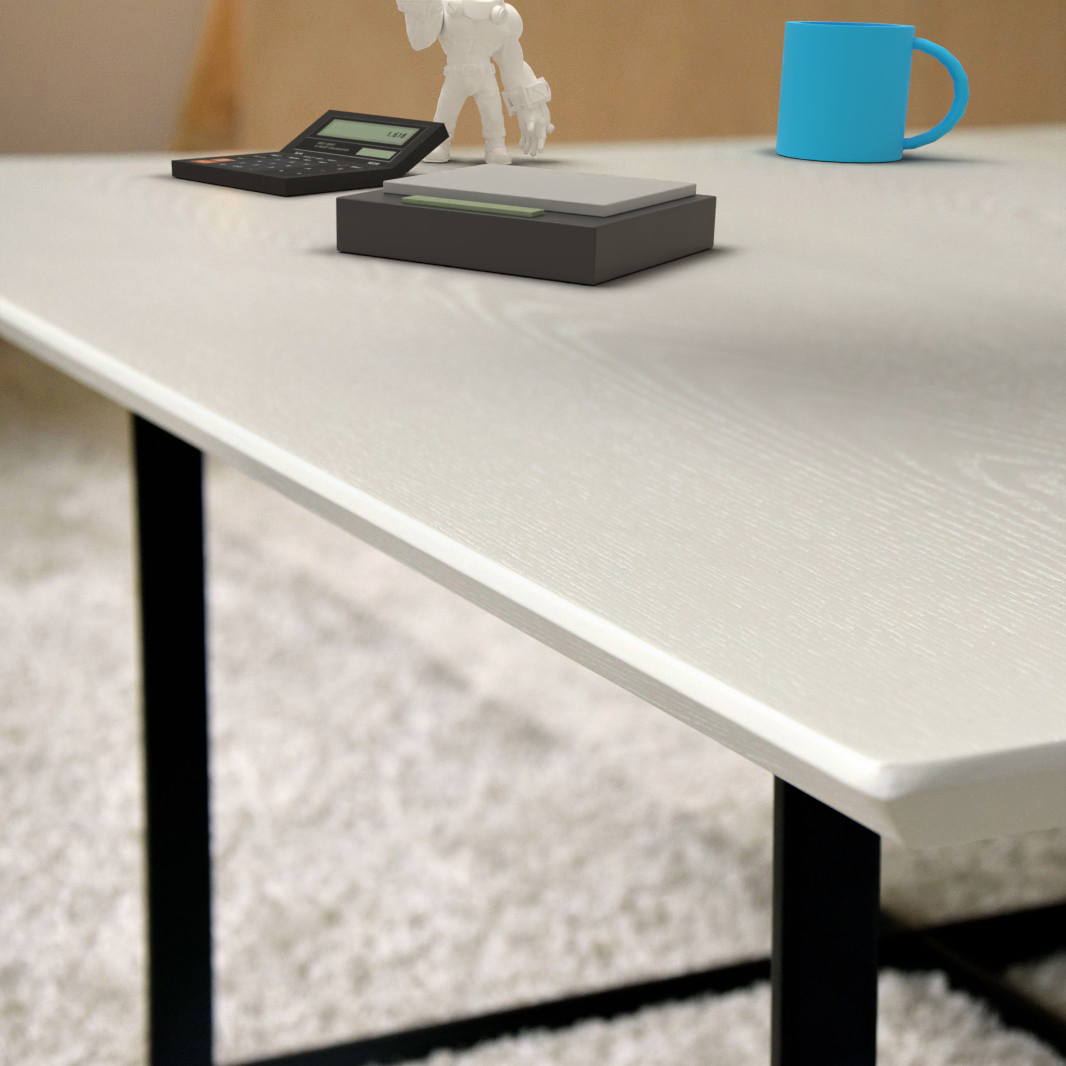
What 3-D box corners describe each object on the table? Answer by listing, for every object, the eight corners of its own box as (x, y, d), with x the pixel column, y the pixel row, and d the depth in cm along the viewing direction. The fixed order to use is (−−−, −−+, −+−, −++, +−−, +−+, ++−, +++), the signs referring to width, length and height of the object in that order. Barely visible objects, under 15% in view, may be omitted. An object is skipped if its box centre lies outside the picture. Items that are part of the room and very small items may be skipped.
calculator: (172, 176, 87) (169, 119, 86) (335, 161, 96) (334, 109, 95) (285, 195, 82) (284, 134, 81) (448, 178, 90) (449, 122, 89)
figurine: (418, 170, 93) (418, -53, 89) (371, 160, 97) (369, -54, 93) (561, 161, 99) (567, -49, 95) (511, 152, 102) (516, -50, 98)
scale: (714, 247, 70) (718, 184, 69) (593, 285, 61) (596, 213, 60) (477, 219, 76) (479, 160, 75) (335, 251, 67) (334, 184, 66)
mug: (775, 158, 103) (785, 24, 101) (775, 145, 111) (785, 20, 108) (969, 167, 102) (984, 30, 99) (956, 153, 109) (970, 26, 107)
